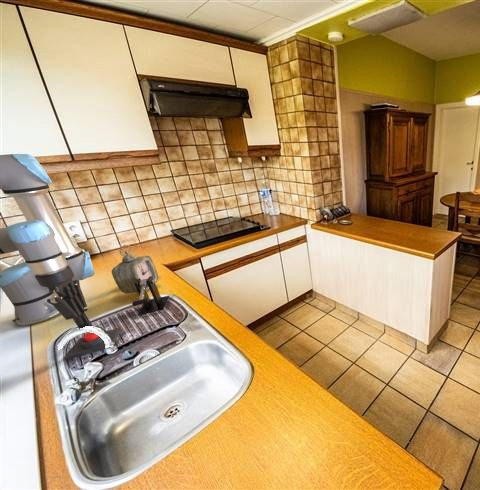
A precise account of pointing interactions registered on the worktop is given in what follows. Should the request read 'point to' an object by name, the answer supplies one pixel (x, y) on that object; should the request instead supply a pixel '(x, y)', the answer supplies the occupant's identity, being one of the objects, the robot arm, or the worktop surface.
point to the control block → (90, 345)
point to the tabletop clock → (133, 271)
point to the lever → (142, 294)
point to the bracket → (155, 303)
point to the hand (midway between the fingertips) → (87, 329)
